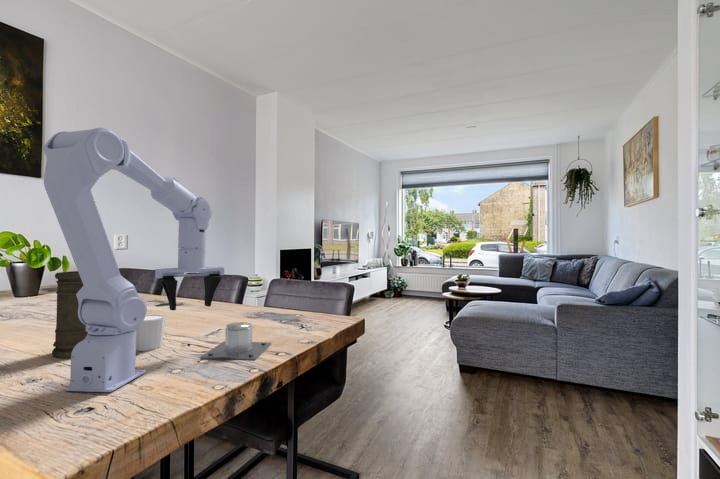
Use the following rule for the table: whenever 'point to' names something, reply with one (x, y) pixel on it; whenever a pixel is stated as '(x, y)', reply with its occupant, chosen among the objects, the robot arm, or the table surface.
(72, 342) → the container
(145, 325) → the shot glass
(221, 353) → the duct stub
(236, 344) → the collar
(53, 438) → the table surface
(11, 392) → the table surface
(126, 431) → the table surface
